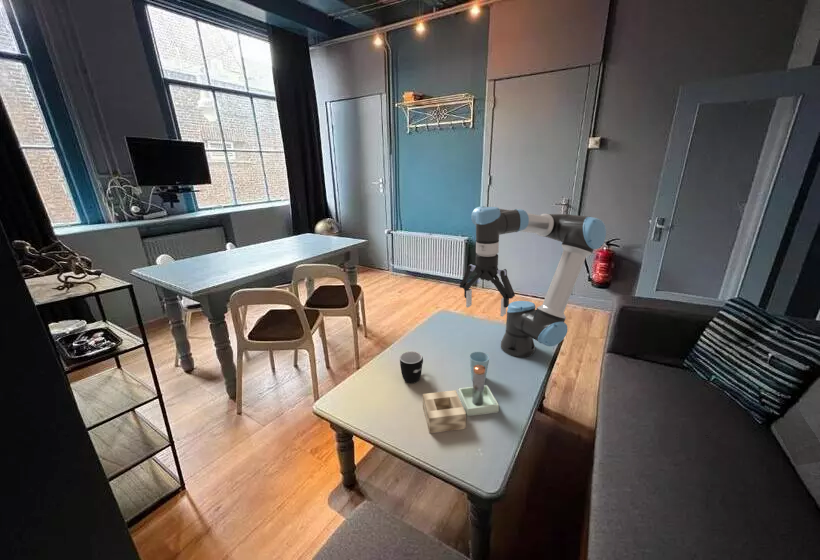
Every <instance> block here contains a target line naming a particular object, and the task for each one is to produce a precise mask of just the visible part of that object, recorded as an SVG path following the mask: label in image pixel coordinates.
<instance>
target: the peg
mask: <svg viewBox="0 0 820 560" xmlns="http://www.w3.org/2000/svg"><path fill="white" fill-rule="evenodd" d="M485 381H486V379H485V367H484V366H483V365H475V366H474V370H473V380H472V387H473V392H472V403H473V404H474V405H476V406H481V405H482V404H483V399H484V385H485Z"/></svg>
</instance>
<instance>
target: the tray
mask: <svg viewBox="0 0 820 560" xmlns="http://www.w3.org/2000/svg"><path fill="white" fill-rule="evenodd" d="M472 392H473V386H468V387H467V386H466V387H460V388H458V391H457V394H458V396H459V399H460V401H461V403H462V406H463V408H464V410H465V413H466V417H470V416H479V415H487V414H495V413H499V410H500V408H499V407H500V405H499V403H498V401H497V399H496V397H495V396H494V394H493V393H492V391H491V389H490V387H489V386H488V384H484V399H483V404H482V405H481V406H476V405H474V404H473V403H472Z"/></svg>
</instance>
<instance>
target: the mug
mask: <svg viewBox="0 0 820 560" xmlns="http://www.w3.org/2000/svg"><path fill="white" fill-rule="evenodd" d="M423 363H424V358H423V356H422V354H421V353H419V352H417V351H406V352H403V353H401V355H400V356H399V365H400V371H401V376H402V378H403V380H404V381H405V382H406V383H408V384H416V383H417V382H419V380H420V379H421V376H422V371H423V370H422V369H423Z"/></svg>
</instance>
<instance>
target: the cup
mask: <svg viewBox="0 0 820 560" xmlns="http://www.w3.org/2000/svg"><path fill="white" fill-rule="evenodd" d="M489 363H490V355H488V354H487V352H486V353H485V352H484V351H473V352H472V353H470V354H469V364H470V376H471V380H472V381H473V370H474V366H475V365H483V366H484V367H485V380H486V377H487V373H488V366H489Z"/></svg>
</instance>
